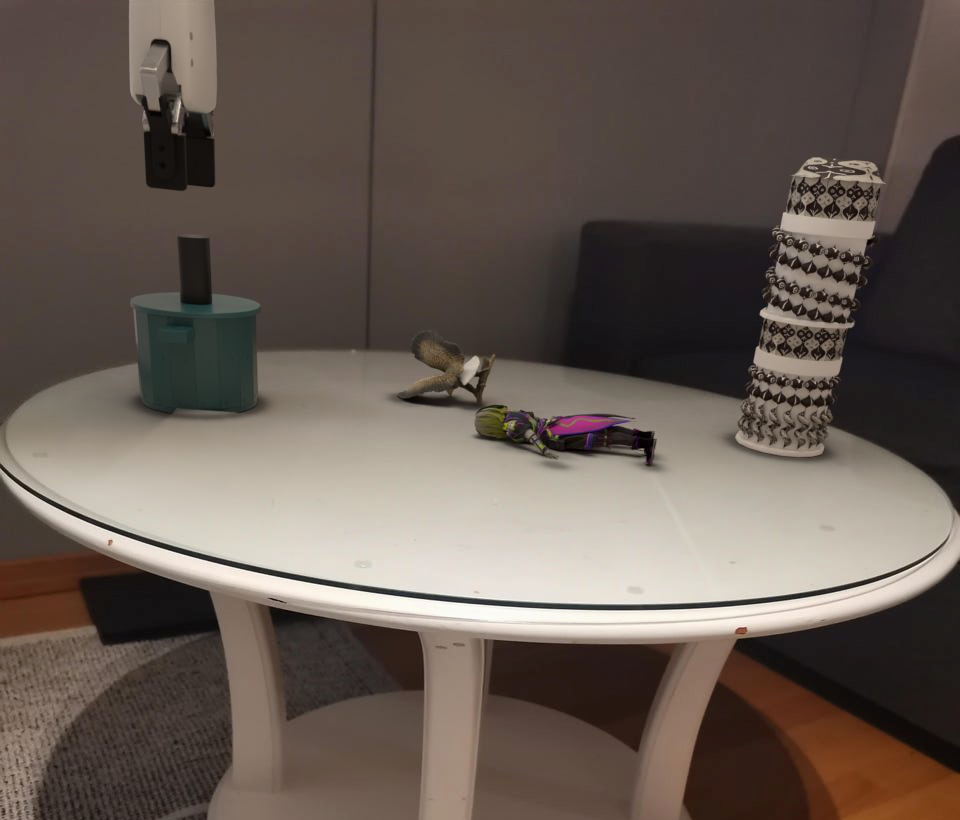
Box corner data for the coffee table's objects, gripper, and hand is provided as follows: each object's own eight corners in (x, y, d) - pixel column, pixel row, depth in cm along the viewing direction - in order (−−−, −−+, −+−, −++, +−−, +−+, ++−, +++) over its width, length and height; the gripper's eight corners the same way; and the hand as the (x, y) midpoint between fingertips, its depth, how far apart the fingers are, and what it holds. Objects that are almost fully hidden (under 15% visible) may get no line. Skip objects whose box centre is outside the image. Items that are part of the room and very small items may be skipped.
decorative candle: (751, 426, 101) (806, 157, 89) (840, 446, 96) (910, 165, 85) (716, 442, 94) (770, 153, 82) (809, 464, 89) (881, 161, 78)
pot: (116, 417, 85) (107, 317, 81) (167, 378, 99) (161, 291, 96) (238, 427, 86) (234, 327, 82) (271, 386, 100) (269, 299, 96)
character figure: (646, 449, 91) (477, 425, 91) (654, 409, 89) (481, 385, 90) (653, 479, 83) (467, 452, 83) (662, 436, 81) (472, 409, 81)
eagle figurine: (489, 382, 104) (409, 358, 104) (501, 332, 98) (415, 306, 98) (473, 434, 101) (389, 409, 100) (484, 386, 94) (395, 359, 94)
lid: (113, 319, 84) (106, 236, 81) (152, 300, 94) (146, 225, 91) (246, 330, 84) (244, 247, 81) (271, 310, 94) (269, 235, 91)
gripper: (158, -38, 84) (166, 180, 92) (87, -82, 68) (105, 185, 76) (245, -28, 84) (247, 189, 92) (195, -69, 69) (201, 196, 76)
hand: (182, 187), depth 84 cm, fingers open, 9 cm apart
